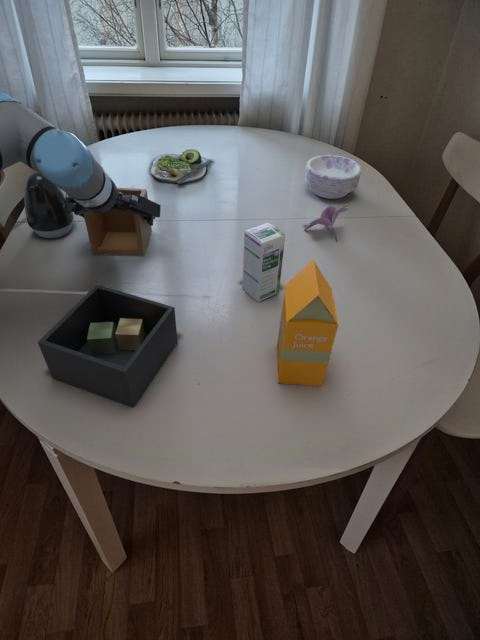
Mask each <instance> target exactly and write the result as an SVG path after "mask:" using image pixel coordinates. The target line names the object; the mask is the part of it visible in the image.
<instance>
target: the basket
mask: <svg viewBox="0 0 480 640" xmlns="http://www.w3.org/2000/svg"><path fill="white" fill-rule="evenodd" d="M120 318H126V319H143V325H144V331H145V337H144V341H143V343H142V344H141V345H140V347H139V348H138V349H137V350H119V348H118V344H117V341H116V348H115V353H114V354H96V355H92V354H91V351H90V347H89V344H88V341H87V337H88V332H89V327H90V323H100V322H114V327H115V331H116V330H117V327H118V324H119V321H120ZM176 320H177V319H176V309H175V306H173V305H169V304H165V303H162V302H159V301H155V300H151V299H148V298H145V297H141V296H138V295H134V294H131V293H127V292H124V291H120V290H117V289H114V288H111V287H107V286H103V285H101V284H97V283H96V284H95V285H94V286H93V287H92V288H91V289H90V290H89V291H87V293H86V294H85V295H84V296H82V298H81V299H80V300H78V302H77V303H76V304H75V305H74V306H73V307H72V308H71V309H69V311H68V312H67V313H66V314H65V315H63V317H61V319H60V320H59V321H58V322H56V324H54V326H53V327H52V328H51V329H49V331H48V332H46V334H45V335H43V337H41V339H39V340H38V342H37V345H38V347H39V349H40V352H41V354H42V357H43V359H44V362H45V364H46V366H47V369H48V371H49V373H50V376H51V378H52V379H53V380H56V381H58V382H62V383H64V384H66V385H70V386H73V387H75V388H77V389H81V390H84V391H85V392H86V391H87V392H89V393H92V394H95V395H97V396H101V397H103V398H106V399H108V400H112V401H114V402H116V403H120V404H122V405H125V406H128V407H130V408H135V406H136V405H137V404H138V402H139V400H140V399H141V398H142V396H143V395H144V393H145V392H146V391H147V389H148V387H149V386H150V384H151V383H152V381H153V380H154V378H155V377H156V375H157V374H158V372H159V371H160V370H161V368H162V366H163V365H164V364H165V362H166V361H167V359H168V358H169V356H170V355H171V353H172V352H173V350H174V349H175V347H176V346H175V344H176V343H177V341H178V331H177V321H176ZM178 342H179V341H178ZM177 344H178V343H177ZM177 344H176V345H177ZM174 346H175V347H174ZM173 348H174V349H173ZM172 349H173V350H172ZM171 351H172V352H171ZM170 352H171V353H170ZM169 354H170V355H169ZM168 355H169V356H168ZM167 357H168V358H167ZM166 358H167V359H166ZM164 361H165V362H164ZM162 364H163V365H162ZM160 367H161V368H160ZM158 370H159V371H158ZM156 373H157V374H156ZM154 376H155V377H154ZM150 382H151V383H150ZM148 385H149V386H148ZM146 388H147V389H146Z"/></svg>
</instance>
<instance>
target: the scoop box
mask: <svg viewBox="0 0 480 640" xmlns="http://www.w3.org/2000/svg"><path fill="white" fill-rule="evenodd" d="M117 189H118V192H120V193H122V194H125V195H130V192H131V191H135V192H137V193H138V194H139V195H140V196H142V197H144V198H146V199H149V197H148V196H149V195H148V189H147V188H135V187H133V188H131V187H117ZM118 207H120V206H118ZM83 215H84V218H83V219H84V223H85V227H86V231H87V235H88V240H89V244H90V248H91V253H92V255H95V256H97V255H98V256H124V257H145V256H146V253H147V249H148V245H149V243H150V240H151V236H152V233H153V230H152V229H153V228H152V226H150V225H149V224H148V223H147V221H146V220H145V219H144V216H141V215H139V214H134V213H131V212H127V211H125V212H119V211H115V210H109V211H107V212H105V213H100V214H96V213H91V212H89V211H87V212H83Z"/></svg>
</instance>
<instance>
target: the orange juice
mask: <svg viewBox="0 0 480 640" xmlns="http://www.w3.org/2000/svg"><path fill="white" fill-rule="evenodd" d="M282 299H283V301H282V308H281V313H280V320H279V328H278V329H279V330H278V337H277V343H276V354H278V361H277V384H278V383H282V384H281V385H296V384H300V386H316V385H317V386H319V387H322V386H323V383H324V380H325V377H326V373H327V369H328V365H329V363H330V360H331V355H332V350H333V346H334V343H335V339H336V336H337V331H338V328H339V321H338V315H337V310H336V304H335V299H334V293H333V288H332V287H331V285H330V284H329V283H328V281H327V279H326V277H325V276H324V275H323V273H322V271H321V270H320V268H319V266H318V265H317V263H316V261H315V259H314V258H313V259H312V260H310V262H308V263H307V264H306V265H305V266H304V267H302V269H300V271H299V272H298V273H296V274H295V276H293V277H292V278H291V279H290V280H289V281H288V282H287V283H286V284H284V293H283V298H282ZM317 386H316V387H317Z"/></svg>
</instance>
